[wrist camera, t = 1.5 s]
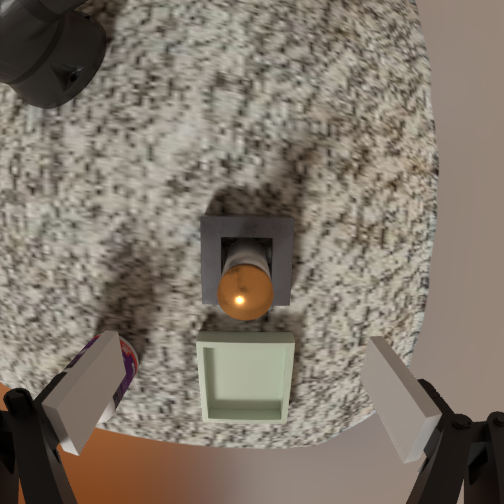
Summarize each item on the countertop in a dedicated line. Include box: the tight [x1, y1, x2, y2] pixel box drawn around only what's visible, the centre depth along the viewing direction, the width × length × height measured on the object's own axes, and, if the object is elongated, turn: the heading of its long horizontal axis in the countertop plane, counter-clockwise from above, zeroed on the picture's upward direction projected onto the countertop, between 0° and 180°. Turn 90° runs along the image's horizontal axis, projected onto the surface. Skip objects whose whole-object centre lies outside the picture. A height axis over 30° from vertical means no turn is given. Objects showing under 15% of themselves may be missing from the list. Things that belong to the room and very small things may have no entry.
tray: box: [196, 330, 295, 424], centre depth 39 cm, size 14×12×3 cm
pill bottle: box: [62, 333, 139, 423], centre depth 32 cm, size 8×8×14 cm
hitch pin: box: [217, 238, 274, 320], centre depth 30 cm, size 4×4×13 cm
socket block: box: [201, 214, 294, 306], centre depth 35 cm, size 10×10×3 cm
